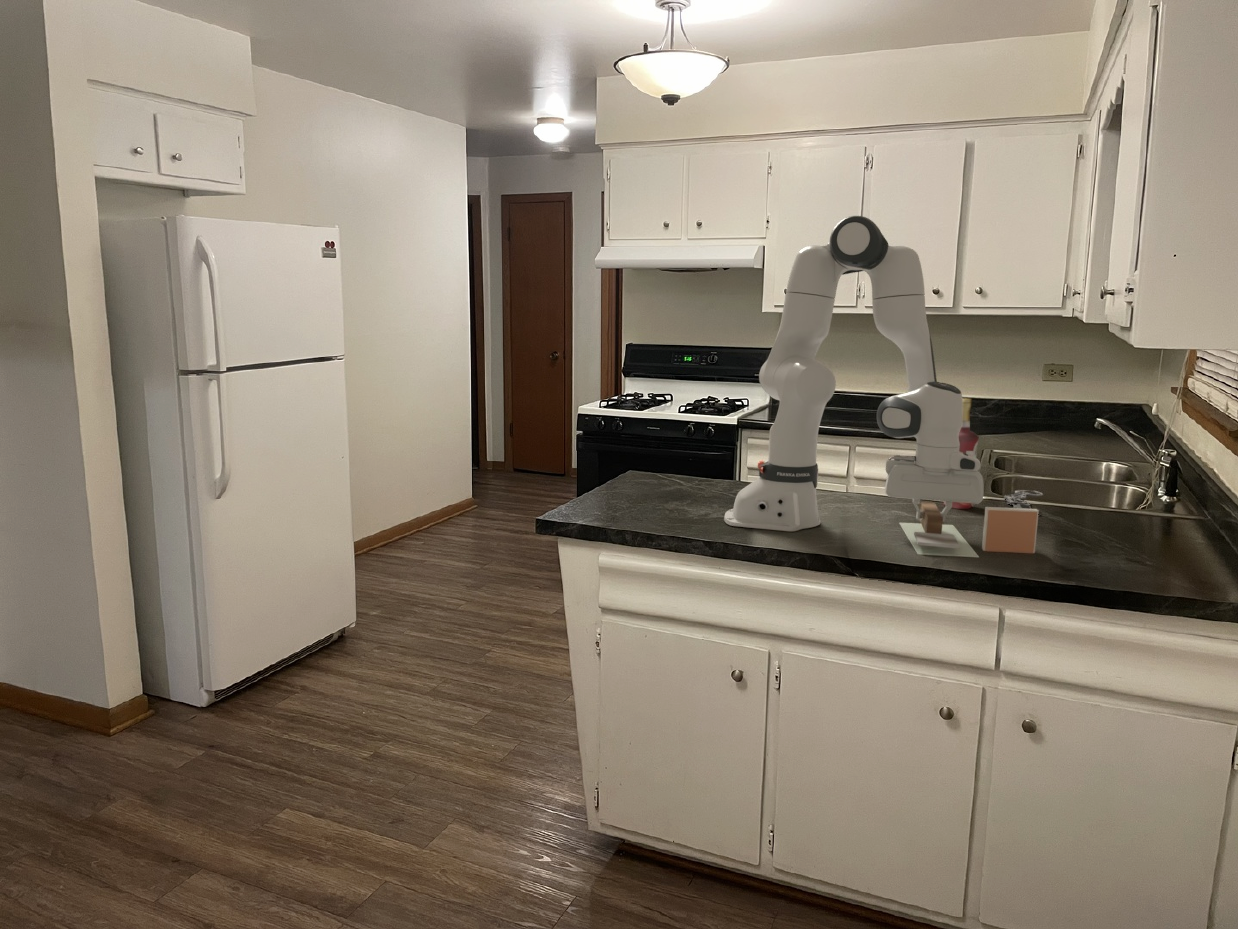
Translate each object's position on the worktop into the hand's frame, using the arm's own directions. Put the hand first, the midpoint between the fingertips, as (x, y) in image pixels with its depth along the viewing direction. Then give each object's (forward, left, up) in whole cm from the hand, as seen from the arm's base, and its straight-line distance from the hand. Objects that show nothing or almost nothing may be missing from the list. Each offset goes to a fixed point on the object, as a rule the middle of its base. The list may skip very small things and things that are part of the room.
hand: (930, 519), depth 196 cm
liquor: (+12, +30, -5) cm, 33 cm away
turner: (0, -4, -2) cm, 4 cm away
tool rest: (+1, -3, -5) cm, 5 cm away
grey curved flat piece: (+31, +42, -5) cm, 52 cm away
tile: (+14, -10, -5) cm, 18 cm away
